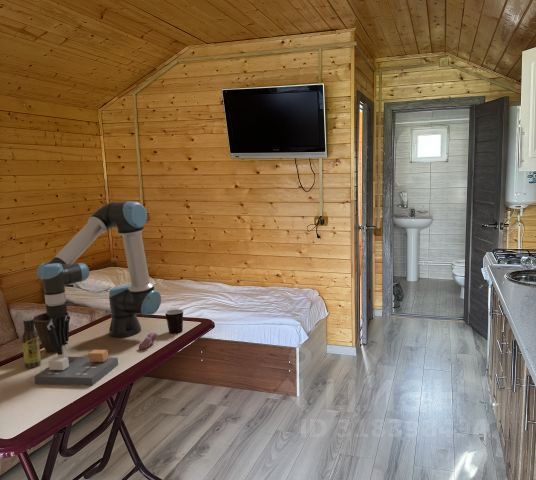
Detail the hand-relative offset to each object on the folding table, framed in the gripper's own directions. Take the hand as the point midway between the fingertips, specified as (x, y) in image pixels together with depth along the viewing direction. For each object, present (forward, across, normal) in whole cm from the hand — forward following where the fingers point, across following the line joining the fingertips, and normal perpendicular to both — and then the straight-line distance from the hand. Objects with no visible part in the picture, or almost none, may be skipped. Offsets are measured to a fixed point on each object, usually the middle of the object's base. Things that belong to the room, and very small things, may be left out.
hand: (62, 361), depth 201 cm
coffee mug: (+5, -50, +27) cm, 57 cm away
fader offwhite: (+2, +3, 0) cm, 3 cm away
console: (+5, 0, +6) cm, 8 cm away
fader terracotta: (+2, -6, +12) cm, 14 cm away
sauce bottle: (+5, -7, -19) cm, 21 cm away
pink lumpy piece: (+5, -32, +22) cm, 39 cm away
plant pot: (+5, -25, -21) cm, 33 cm away
